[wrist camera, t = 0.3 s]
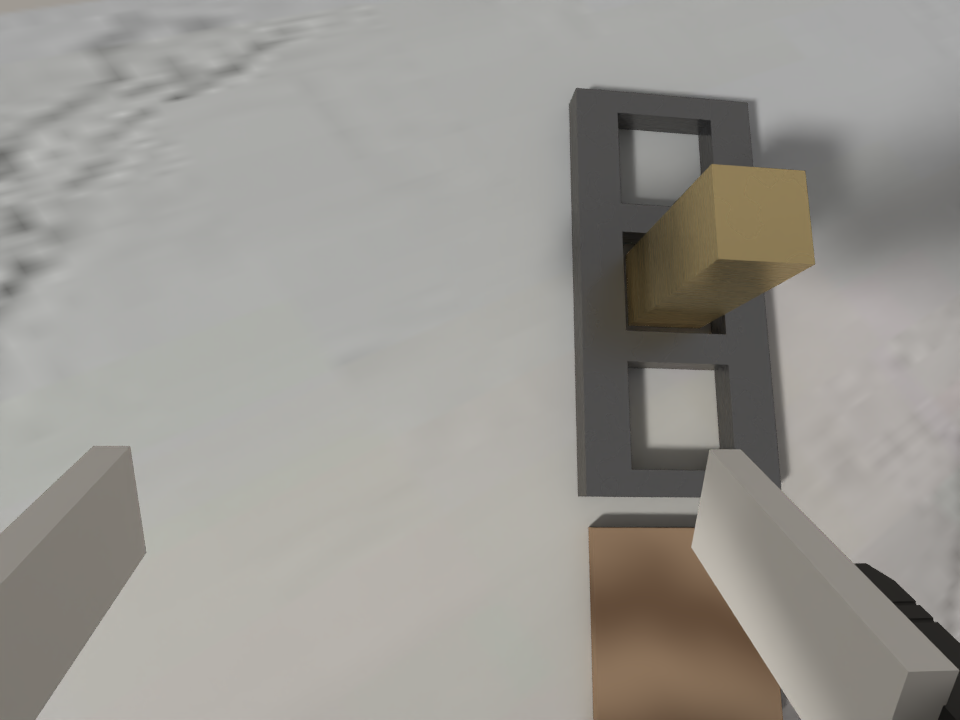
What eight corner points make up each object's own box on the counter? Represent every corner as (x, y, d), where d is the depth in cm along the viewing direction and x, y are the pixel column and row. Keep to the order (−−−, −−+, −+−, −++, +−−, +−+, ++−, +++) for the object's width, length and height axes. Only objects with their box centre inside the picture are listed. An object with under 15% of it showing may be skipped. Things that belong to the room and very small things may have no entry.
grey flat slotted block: (765, 497, 33) (782, 498, 32) (578, 496, 32) (586, 496, 31) (733, 117, 38) (747, 102, 36) (569, 104, 37) (576, 87, 35)
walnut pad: (773, 718, 31) (783, 724, 30) (593, 725, 30) (598, 731, 29) (758, 527, 33) (767, 528, 32) (588, 527, 32) (593, 528, 31)
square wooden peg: (699, 328, 35) (815, 264, 25) (628, 325, 34) (718, 259, 25) (694, 259, 36) (805, 170, 26) (625, 255, 35) (711, 164, 25)
